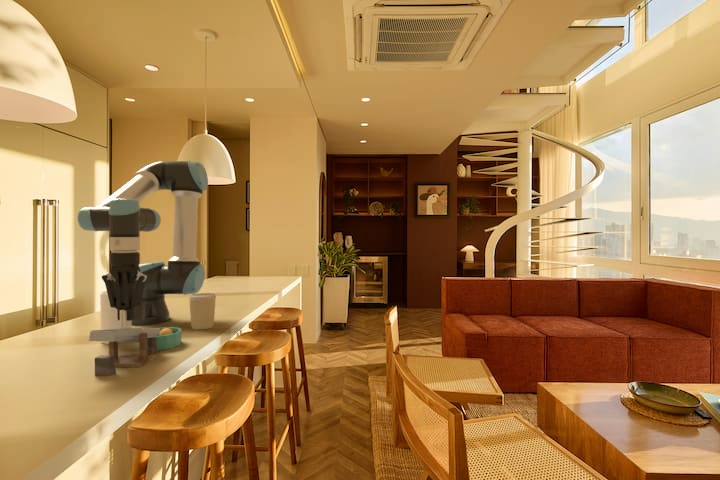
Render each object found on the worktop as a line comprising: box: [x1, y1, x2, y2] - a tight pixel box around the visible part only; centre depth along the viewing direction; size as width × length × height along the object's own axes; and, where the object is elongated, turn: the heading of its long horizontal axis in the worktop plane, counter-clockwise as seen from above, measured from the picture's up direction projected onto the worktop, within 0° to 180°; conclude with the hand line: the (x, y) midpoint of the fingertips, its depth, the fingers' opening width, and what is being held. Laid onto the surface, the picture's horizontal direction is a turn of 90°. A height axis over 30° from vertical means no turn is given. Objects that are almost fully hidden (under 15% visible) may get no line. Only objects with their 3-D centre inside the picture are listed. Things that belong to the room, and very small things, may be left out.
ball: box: [159, 328, 173, 336], centre depth 120 cm, size 4×4×4 cm
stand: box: [94, 333, 157, 377], centre depth 103 cm, size 19×11×8 cm, turn 176°
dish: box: [156, 326, 182, 351], centre depth 118 cm, size 11×11×4 cm
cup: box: [99, 290, 121, 345], centre depth 123 cm, size 8×8×16 cm
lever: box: [88, 327, 161, 344], centre depth 103 cm, size 20×11×4 cm, turn 176°
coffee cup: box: [188, 292, 217, 330], centre depth 140 cm, size 9×9×12 cm
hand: (125, 331), depth 110 cm, fingers closed
